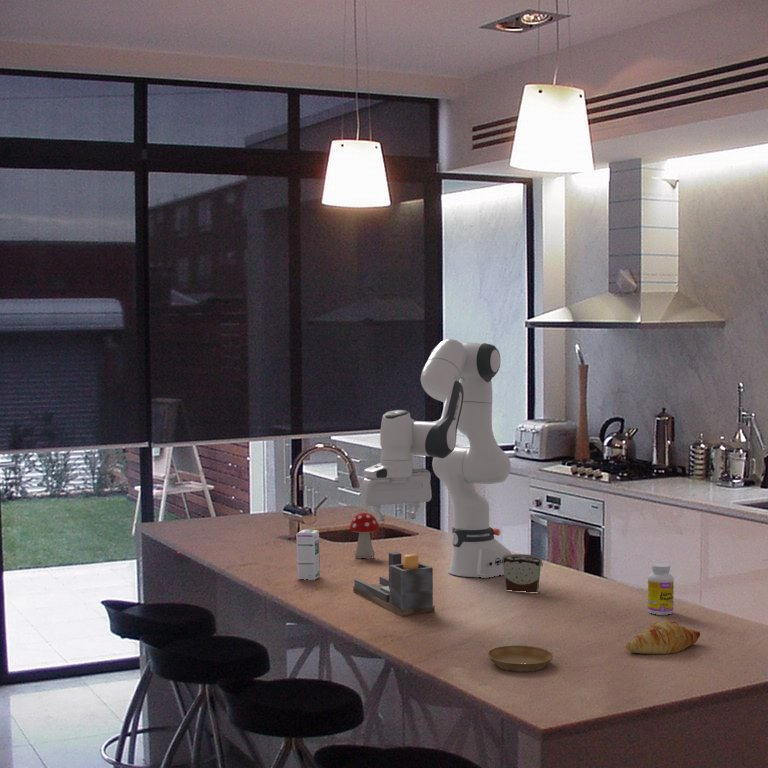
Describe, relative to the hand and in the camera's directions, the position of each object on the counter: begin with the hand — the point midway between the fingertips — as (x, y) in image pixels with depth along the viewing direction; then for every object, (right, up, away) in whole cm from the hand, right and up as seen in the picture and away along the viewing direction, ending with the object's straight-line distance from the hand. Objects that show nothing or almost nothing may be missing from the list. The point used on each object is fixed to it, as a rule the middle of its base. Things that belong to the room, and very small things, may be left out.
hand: (396, 519), depth 320 cm
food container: (+37, -23, +17) cm, 47 cm away
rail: (-1, -23, +5) cm, 24 cm away
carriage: (0, -22, +3) cm, 22 cm away
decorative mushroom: (-10, -21, +67) cm, 71 cm away
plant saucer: (+27, -27, -57) cm, 68 cm away
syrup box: (-27, -22, +36) cm, 50 cm away
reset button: (+4, -15, -7) cm, 17 cm away
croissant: (+62, -26, -45) cm, 81 cm away
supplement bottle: (+70, -24, -11) cm, 75 cm away
